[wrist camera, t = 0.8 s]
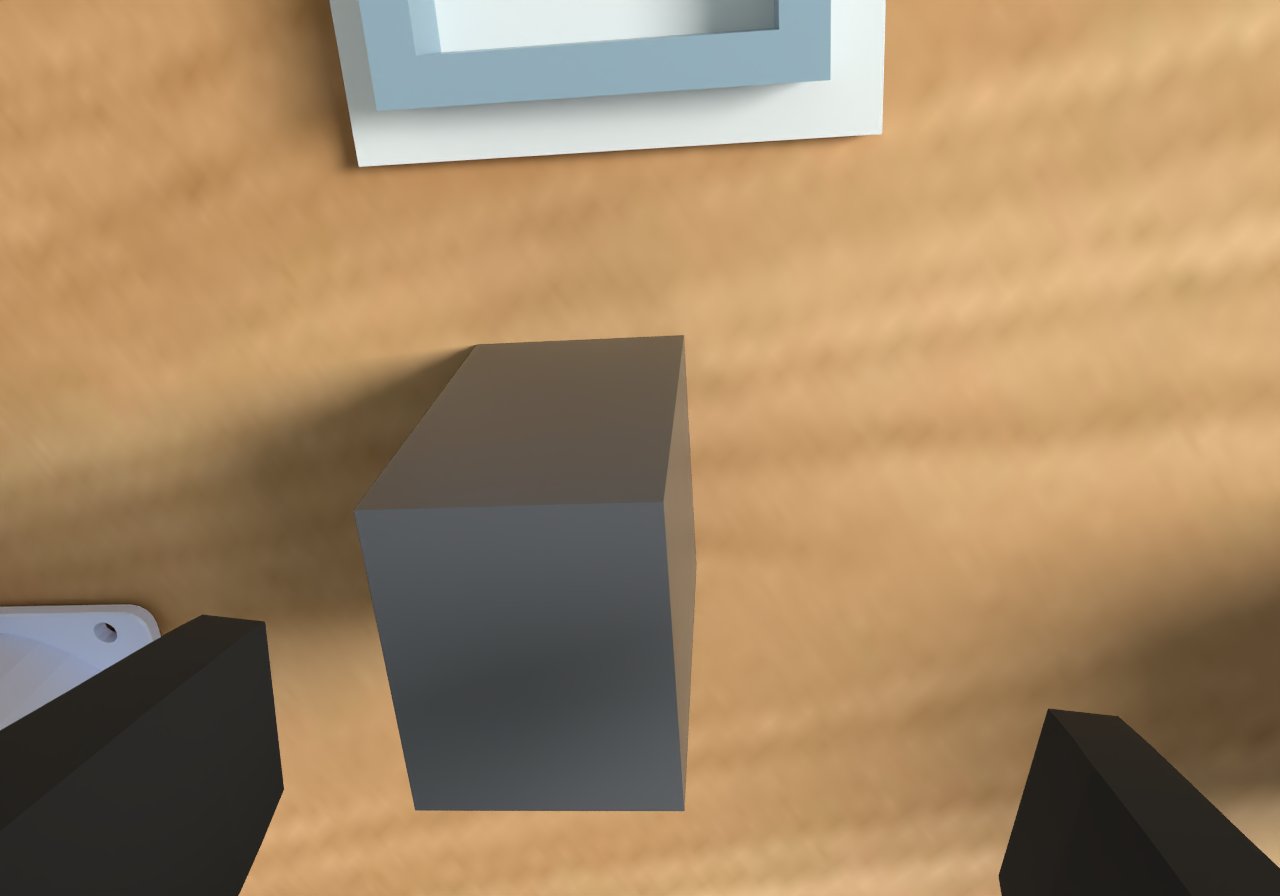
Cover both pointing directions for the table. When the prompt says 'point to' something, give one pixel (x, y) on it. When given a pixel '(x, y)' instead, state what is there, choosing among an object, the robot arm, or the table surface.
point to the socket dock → (603, 74)
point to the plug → (541, 580)
